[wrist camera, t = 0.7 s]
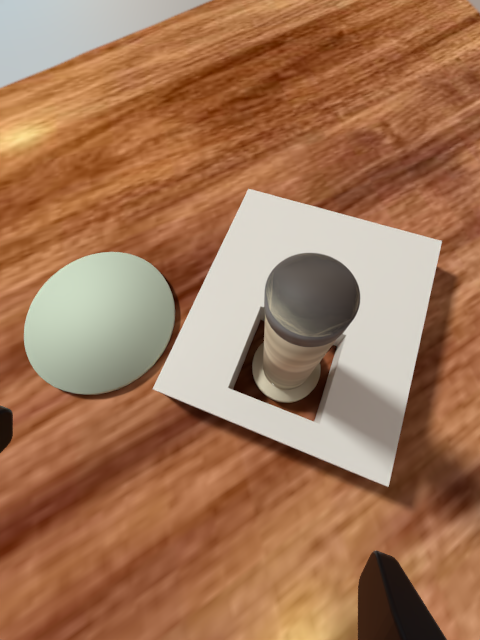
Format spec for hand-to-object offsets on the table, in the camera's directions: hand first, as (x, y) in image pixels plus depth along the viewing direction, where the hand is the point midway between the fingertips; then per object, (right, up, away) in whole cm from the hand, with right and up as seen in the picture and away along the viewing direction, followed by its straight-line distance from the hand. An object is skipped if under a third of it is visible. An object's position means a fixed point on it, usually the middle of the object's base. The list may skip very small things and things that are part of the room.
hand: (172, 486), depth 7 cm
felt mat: (-9, +4, +16) cm, 19 cm away
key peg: (+5, 0, +14) cm, 15 cm away
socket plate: (+6, +4, +15) cm, 17 cm away
